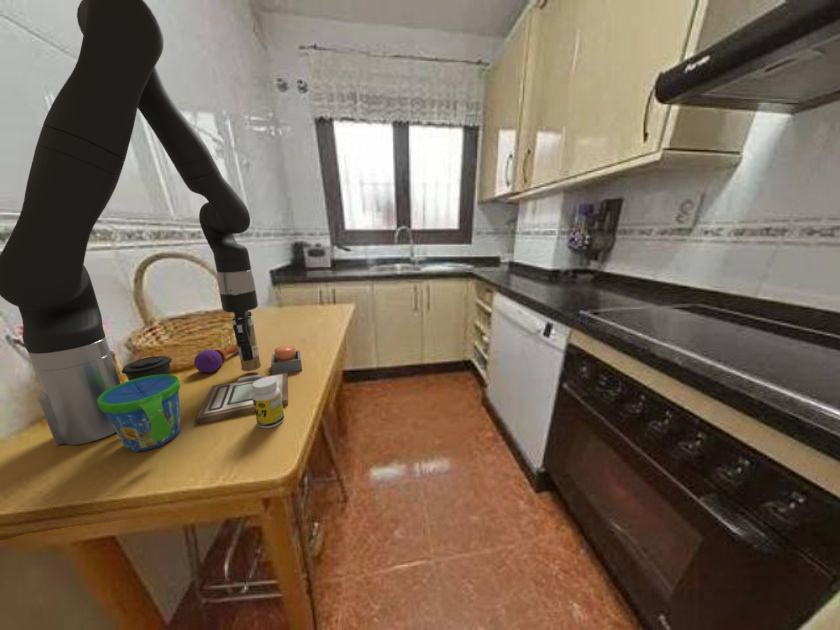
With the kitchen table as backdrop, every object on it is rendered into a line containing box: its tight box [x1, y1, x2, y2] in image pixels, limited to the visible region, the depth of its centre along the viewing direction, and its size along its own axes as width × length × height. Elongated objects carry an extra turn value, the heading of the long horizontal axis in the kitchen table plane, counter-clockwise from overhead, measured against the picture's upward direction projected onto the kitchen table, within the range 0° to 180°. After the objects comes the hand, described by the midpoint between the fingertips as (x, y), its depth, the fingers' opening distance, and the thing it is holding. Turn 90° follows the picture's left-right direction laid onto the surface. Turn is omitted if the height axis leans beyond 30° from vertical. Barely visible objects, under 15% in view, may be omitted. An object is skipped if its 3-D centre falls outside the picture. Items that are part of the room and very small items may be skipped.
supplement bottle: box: [252, 377, 285, 429], centre depth 59 cm, size 5×5×8 cm
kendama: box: [193, 343, 238, 374], centre depth 89 cm, size 6×6×20 cm
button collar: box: [270, 349, 303, 375], centre depth 83 cm, size 7×7×3 cm
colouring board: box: [195, 373, 289, 425], centre depth 69 cm, size 16×14×2 cm
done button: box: [274, 345, 297, 362], centre depth 82 cm, size 5×5×4 cm
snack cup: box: [97, 374, 181, 453], centre depth 54 cm, size 16×10×10 cm
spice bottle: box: [232, 315, 262, 372], centre depth 78 cm, size 5×5×13 cm
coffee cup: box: [121, 355, 172, 381], centre depth 66 cm, size 8×8×10 cm
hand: (249, 356), depth 79 cm, fingers closed on spice bottle, 4 cm apart
